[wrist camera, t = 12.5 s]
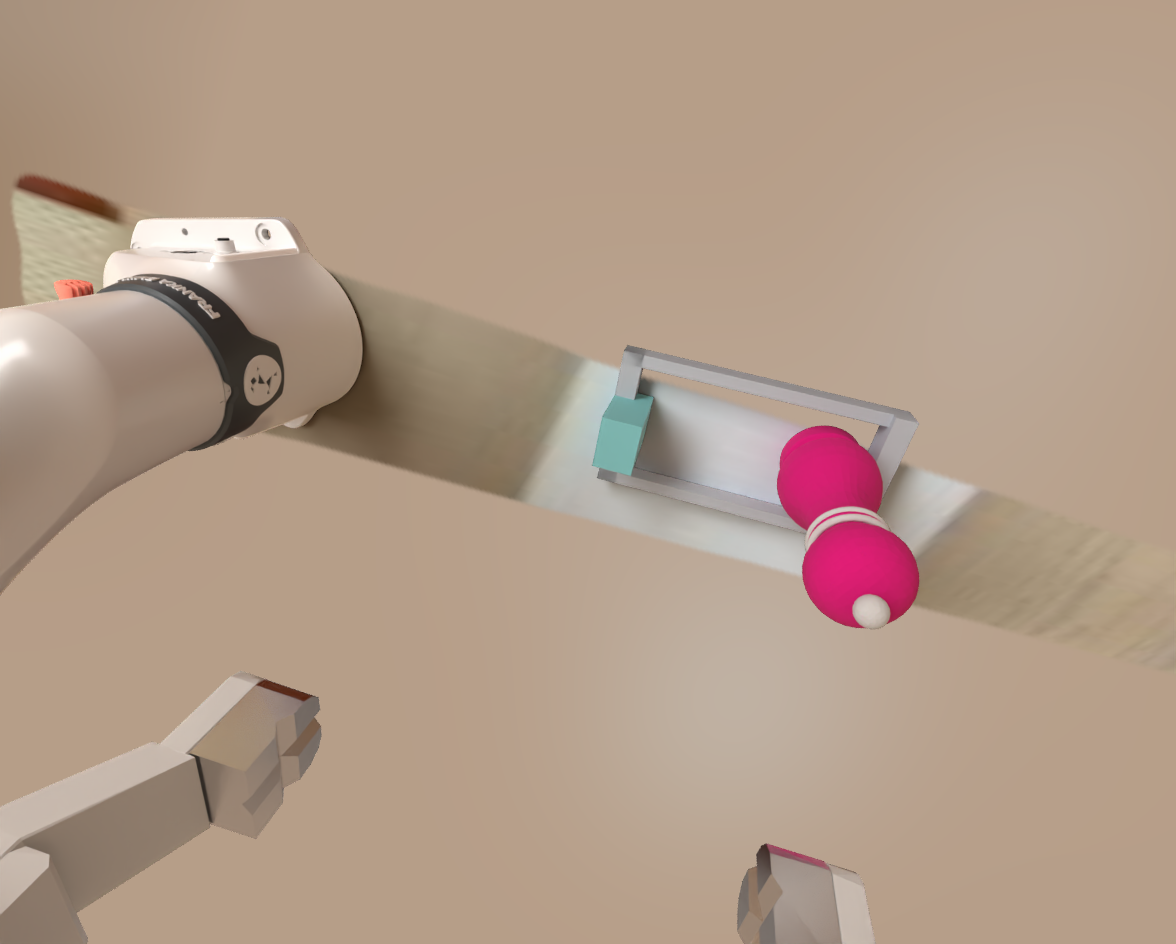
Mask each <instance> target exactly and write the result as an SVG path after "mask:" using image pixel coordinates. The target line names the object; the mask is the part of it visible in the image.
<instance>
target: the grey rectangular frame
mask: <svg viewBox="0 0 1176 944" xmlns="http://www.w3.org/2000/svg"><path fill="white" fill-rule="evenodd" d="M643 368H645V369H649V370H653V371H657V372H662V373H665V374H670V375H674V376H678V377H682V378H686V379H691V380H695V381H699V382H703V383H707V384H712V385H715V386H720V387H724V388H728V389H732V390H736V391H740V392H744V393H749V394H753V395H757V396H761V397H765V398H769V399H774V400H778V401H782V402H786V403H791V404H795V405H798V406H803V407H807V408H811V409H815V410H819V411H823V412H828V413H832V414H836V415H840V416H844V417H849V418H853V419H857V420H861V421H865V422H869V423H873V424H877V425H880V426H879V428H878V430H877V432H876V435H875V437H874V439H873V442H872V443H871V446H870V448H869V450H868V452H869V453H870V454H871V455H872V457H873V458H874V459H875V461H876V463H877V465H878V467H879V470H880V473H881V477H882V481H883V494H882V499H883V497H884V495H885V493H886V491H887V489H888V487H889V485H890V482H891V480H892V478H893V476H894V474H895V472H896V470H897V468H898V466H899V464H900V462H901V460H902V458H903V456H904V454H905V452H906V450H907V447H908V445H909V443H910V441H911V439H912V437H913V435H914V433H915V431H916V429H917V427H918V425H919V423H918V421H917V420H916V419H915V418H914V417H913V415H912V414H911V413H910V412H908V411H904V410H900V409H896V408H891V407H887V406H883V405H878V404H874V403H870V402H866V401H861V400H857V399H853V398H849V397H845V396H841V395H836V394H832V393H828V392H824V391H819V390H815V389H811V388H807V387H803V386H798V385H794V384H789V383H786V382H781V381H777V380H773V379H769V378H765V377H760V376H756V375H752V374H748V373H743V372H739V371H735V370H731V369H726V368H722V367H718V366H714V365H709V364H705V363H701V362H697V361H693V360H688V359H684V358H680V357H676V356H672V355H667V354H663V353H659V352H654V351H650V350H646V349H642V348H637V347H633V346H629V345H628V346H627V347H626V349H625V350H624V354H623V359H622V364H621V368H620V373H619V377H618V382H617V387H616V392H615V396H614V397H613V399H612V401H611V403H610V404H609V406H608V408H607V410H606V411H605V413H604V415H603V417H602V421H601V426H600V430H599V435H598V440H597V445H596V450H595V455H594V460H593V465H592V466H595V467H599V472H598V477H597V478H598V479H602V480H606V481H610V482H613V483H617V484H621V485H625V486H629V487H632V488H636V489H640V490H644V491H647V492H651V493H655V494H659V495H662V496H666V497H670V498H674V499H678V500H681V501H685V502H689V503H693V504H696V505H700V506H704V507H708V508H712V509H715V510H719V511H723V512H727V513H730V514H734V515H738V516H742V517H745V518H749V519H753V520H757V521H761V522H764V523H768V524H772V525H776V526H779V527H783V528H787V529H791V530H795V531H798V532H802V533H807V530H805V529H803V528H802V527H800V526H799V525H798V524H796V523H795V522H794V521H793V520H792V518H791V517H790V516H789V515H788V514H787V513H786V511H785V510H784V508H783V506H779V505H776V504H772V503H768V502H764V501H760V500H756V499H753V498H749V497H745V496H741V495H737V494H734V493H730V492H726V491H722V490H718V489H714V488H711V487H707V486H703V485H699V484H695V483H691V482H688V481H684V480H680V479H676V478H672V477H668V476H665V475H661V474H657V473H653V472H649V471H645V470H642V469H638V468H634V465H635V462H636V460H637V457H638V454H639V451H640V448H641V445H642V442H643V439H644V435H645V431H646V427H647V423H648V419H649V415H650V410H651V406H652V402H653V398H654V397H651V396H647V395H643V394H639V393H637V392H638V388H639V383H640V379H641V375H642V370H643ZM881 501H882V500H881Z"/></svg>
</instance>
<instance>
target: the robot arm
mask: <svg viewBox="0 0 1176 944" xmlns="http://www.w3.org/2000/svg"><path fill="white" fill-rule="evenodd" d="M268 230H269V232H270V234H271V238H270V237H269V236H268ZM54 286H55V289H56V292H57V294H58V296H59V298H60V300H55V301H49V302H42V303H36V304H30V305H23V306H17V307H11V308H4V309H0V595H1V594H2V593H3V592H4V590H5V589H6V588H7V587H8V586H9V585H10V583H11V582H12V581H13V580H14V579H15V578H16V576H17V575H18V574H19V573H20V572H21V571H22V570H23V569H24V568H25V567H26V566H27V565H28V564H29V563H30V562H31V560H33V559H34V558H35V556H36V555H37V554H38V553H39V552H40V551H41V550H42V549H43V548H44V547H45V546H46V545H47V544H48V543H49V542H50V541H51V540H52V539H53V538H54V537H56V536H57V535H58V534H59V532H61V531H62V530H63V529H64V528H65V527H66V526H67V525H69V524H70V523H71V522H72V521H73V520H74V519H75V518H76V517H78V516H79V515H80V514H81V513H82V512H84V511H85V510H86V509H87V508H88V507H90V506H91V505H92V504H93V503H95V502H96V501H98V500H99V499H100V498H102V497H103V496H105V495H106V494H107V493H109V492H110V491H112V490H114V489H115V488H117V487H119V486H121V485H123V484H124V483H126V482H128V481H130V480H132V479H133V478H135V477H137V476H139V475H141V474H143V473H144V472H147V471H148V470H150V469H152V468H154V467H156V466H158V465H160V464H162V463H164V462H166V461H168V460H170V459H172V458H174V457H176V456H178V455H180V454H182V453H184V452H186V451H196V450H201V449H205V448H207V447H210V446H214V445H218V444H220V443H223V442H225V441H227V440H229V439H231V438H233V437H234V438H235V439H245V438H248V437H251V436H253V435H256V434H259V433H261V432H264V431H267V430H269V429H272V428H275V427H277V426H280V425H282V424H283V425H285V426H287V427H289V428H298V427H300V426H303V425H305V424H306V423H308V421H309V420H310V419H311V418H312V417H313V415H314V414H315V412H316V411H317V410H318V409H319V408H321V407H323V406H325V405H328V404H330V403H333V402H335V401H337V400H338V399H340V398H341V397H342V396H344V395H345V394H346V393H347V392H348V391H349V390H350V388H351V387H352V386H353V384H354V382H355V381H356V379H357V376H358V374H359V371H360V367H361V362H362V350H363V349H362V336H361V331H360V326H359V323H358V319H357V317H356V314H355V311H354V309H353V307H352V305H351V303H350V301H349V299H348V297H347V295H346V294H345V292H344V291H343V289H342V288H341V286H340V285H339V284H338V282H337V281H336V280H335V279H334V278H333V276H332V275H331V274H330V273H329V272H328V271H327V270H326V269H325V268H324V267H323V266H322V265H321V264H319V263H318V262H317V261H316V259H315V258H313V256H312V255H311V254H310V252H309V250H308V249H307V246H306V245H305V243H304V241H303V239H302V237H301V235H300V234H299V232H298V231H297V229H296V228H295V226H294V225H293V224H292V223H291V222H290V221H289V220H287V219H285V218H281V217H258V218H257V217H256V218H255V217H254V218H253V217H251V218H151V219H145V220H141V221H139V222H138V223H137V225H136V227H135V229H134V232H133V236H132V240H131V247H130V249H129V250H121V251H116V252H114V253H113V254H112V255H111V256H110V257H109V259H108V260H107V263H106V266H105V270H104V277H103V289H101V290H100V291H99V292H97V293H96V294H93V286H92V284H91V283H90V282H87V281H82V280H60V281H56V282H55V283H54ZM319 710H320V705H319V698H318V697H316V696H313V695H310V694H307V693H304V692H301V691H298V690H295V689H292V688H290V687H287V686H284V685H281V684H278V683H275V682H272V681H269V680H267V679H264V678H261V677H258V676H255V675H251V674H249V673H246V672H242V671H240V672H238V673H236V674H235V675H233V676H231V677H229V678H228V679H227V680H226V681H225V682H224V683H223V684H222V685H221V686H220V687H219V688H218V689H217V690H215V692H213V693H212V694H211V695H210V696H209V697H208V698H207V699H206V700H205V701H204V702H203V703H202V704H201V705H200V706H199V707H198V708H197V709H196V710H195V711H194V712H193V713H191V715H189V716H188V717H187V718H186V719H185V720H184V721H183V722H182V723H181V724H180V725H179V726H178V727H177V728H176V729H175V730H174V731H173V732H172V733H171V734H170V735H169V736H167V738H165V739H164V740H163V741H162V742H161V743H160V744H158V743H155V742H150V743H148V744H146V745H143V746H141V747H138V748H136V749H134V750H131V751H129V752H127V753H124V754H122V755H120V756H117V757H115V758H113V759H111V760H108V761H106V762H104V763H101V764H99V765H97V766H94V767H92V768H89V769H87V770H85V771H83V772H80V773H78V774H75V775H73V776H71V777H69V778H66V779H64V780H61V781H59V782H57V783H54V784H52V785H50V786H47V787H45V788H43V789H40V790H38V791H36V792H33V793H31V794H29V795H26V796H24V797H22V798H20V799H17V800H15V801H12V802H10V803H8V804H6V805H3V806H1V807H0V944H87V942H88V937H87V935H86V933H85V931H84V929H83V927H82V925H81V922H80V920H79V918H78V916H77V912H79V911H80V910H82V909H83V908H85V907H87V906H88V905H90V904H91V903H93V902H94V901H96V900H97V899H99V898H101V897H102V896H103V895H105V894H107V893H108V892H110V891H112V890H113V889H115V888H116V887H118V886H119V885H121V884H123V883H124V882H126V881H127V880H129V879H130V878H132V877H134V876H135V875H137V874H138V873H140V872H141V871H143V870H145V869H146V868H148V867H149V866H151V865H152V864H154V863H155V862H157V861H159V860H160V859H162V858H163V857H165V856H166V855H168V854H170V853H171V852H172V851H174V850H176V849H177V848H179V847H181V846H182V845H184V844H185V843H187V842H188V841H190V840H192V839H193V838H194V837H196V836H198V835H199V834H201V833H202V832H204V831H205V830H207V829H209V828H210V824H212V825H215V826H218V827H221V828H224V829H227V830H230V831H233V832H236V833H239V834H242V835H246V836H248V837H251V838H254V839H256V838H257V837H258V835H259V834H260V833H261V831H262V830H263V829H264V827H265V826H266V825H267V823H268V822H269V821H270V819H271V818H272V817H273V815H274V814H275V812H276V811H277V810H278V809H279V807H280V806H281V805H282V803H283V790H284V787H286V786H288V785H290V784H292V783H294V782H296V781H298V780H300V779H301V777H302V776H303V774H304V773H305V771H306V770H307V769H308V767H309V766H310V765H311V763H312V761H313V758H314V756H315V754H316V752H317V750H318V748H319V744H320V739H321V726H320V724H319V723H318V722H317V720H316V719H315V717H314V716H315V715H316V714H317V713H318V712H319ZM756 856H757V866H756V867H753V868H750V869H748V871H747V873H746V875H745V877H744V879H743V881H742V886H741V890H740V894H739V901H738V914H737V915H738V916H737V917H738V920H737V924H738V925H737V930H738V933H739V935H740V937H741V939H742V941H743V943H744V944H876V943H875V938H874V933H873V928H872V923H871V918H870V913H869V908H868V903H867V898H866V894H865V888H864V883H863V881H862V879H861V878H860V876H859V875H858V874H857V873H855V872H853V871H850V870H847V869H844V868H840V867H837V866H834V865H831V864H827V863H825V862H824V861H821V860H818V859H815V858H812V857H808V856H805V855H802V854H798V853H795V852H792V851H789V850H786V849H782V848H779V847H776V846H773V845H769V844H764V845H762V846H761V848H760V849H759V851H758V852H757V854H756Z"/></svg>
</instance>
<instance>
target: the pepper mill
mask: <svg viewBox="0 0 1176 944" xmlns="http://www.w3.org/2000/svg"><path fill="white" fill-rule="evenodd" d="M777 490H778V495H779V498H780V501H781V503H782V506H783V508H784V510H785V511H786V513H787V514H788V515H789V516H790V517H791V518H792V520H793V521H794V522H795V523H796V524H798V525H799V526H800V527H802V528H803V529H805V530H807V533H806V536H805V550H806V554H805V557H804V561H803V565H802V574H803V582H804V585H805V588H806V591H807V593H808V595H809V597H810V599H811V600H812V602H813V603H814V604H815V606H816V607H817V608H818V609H819V610H820V611H821V612H822V613H823V614H825V615H826V616H827V617H829V618H830V619H832V620H834V621H835V622H838V623H840V624H843V625H845V626H850V627H855V628H869V629H878V628H881V627H883V626H885V625H886V624H888V623H890V622H892V621H894V620H896V619H897V618H899V617H900V616H902V615H903V614H904V613H905V612H906V611H907V610H908V609H909V608H910V607H911V605H912V603H913V602H914V600H915V598H916V595H917V592H918V587H919V572H918V568H917V564H916V560H915V558H914V556H913V554H912V552H911V550H910V549H909V548H908V546H907V545H906V544H905V543H904V542H903V541H902V540H901V539H900V538H898V537H897V536H896V535H895V534H894V533H892V532H891V531H890V528H889V526H888V525H887V523H886V522H885V521H884V519H883V518H881V517H880V516H879V515H878V514H876V513H877V511H878V509H879V507H880V504H881V500H882V494H883V481H882V477H881V473H880V470H879V467H878V465H877V463H876V461H875V459H874V458H873V457H872V455H871V454H870V453H869V452H868V451H867V450H865V449H864V448H863V447H861V446H860V445H859V444H858V442H857V441H856V440H855V439H854V437H853V436H852V435H850V434H849V433H847V432H846V431H844V430H842V429H839V428H837V427H832V426H815V427H811V428H808V429H805V430H803V431H801V432H799V433H797V434H796V435H795V436H793V437H792V438H791V439H790V440H789V441H788V442H787V444H786V445H785V447H784V449H783V450H782V453H781V457H780V471H779V474H778V479H777Z"/></svg>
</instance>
